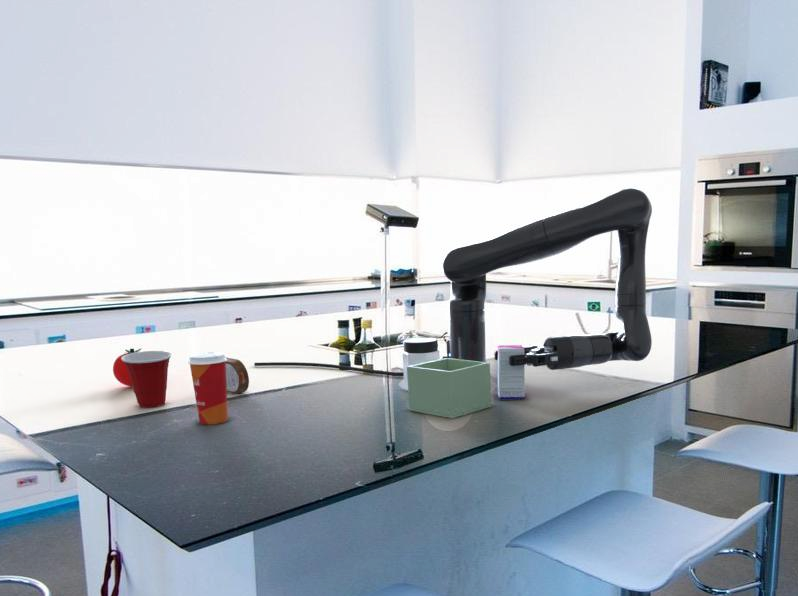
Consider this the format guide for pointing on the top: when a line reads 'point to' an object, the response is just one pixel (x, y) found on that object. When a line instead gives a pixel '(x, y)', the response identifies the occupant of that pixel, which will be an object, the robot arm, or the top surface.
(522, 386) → the supplement box
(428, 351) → the jar
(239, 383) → the tin
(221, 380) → the paper cup
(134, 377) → the plastic cup
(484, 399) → the mint green storage bin
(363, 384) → the top surface
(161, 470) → the top surface
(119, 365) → the tomato
